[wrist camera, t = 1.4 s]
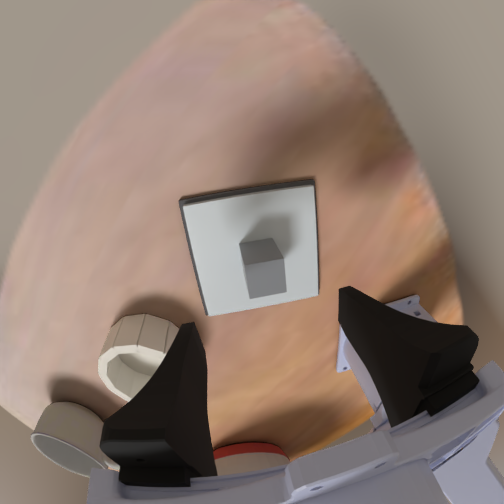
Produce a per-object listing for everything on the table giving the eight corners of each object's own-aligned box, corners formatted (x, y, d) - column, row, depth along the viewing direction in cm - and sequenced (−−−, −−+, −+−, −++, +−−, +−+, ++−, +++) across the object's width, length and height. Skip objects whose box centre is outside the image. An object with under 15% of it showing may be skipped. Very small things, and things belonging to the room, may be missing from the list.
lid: (310, 184, 19) (333, 197, 16) (315, 291, 23) (333, 320, 19) (183, 204, 19) (176, 222, 15) (208, 312, 22) (209, 345, 19)
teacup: (60, 424, 29) (48, 464, 21) (36, 381, 24) (15, 427, 17) (143, 443, 31) (139, 489, 24) (132, 404, 27) (123, 461, 20)
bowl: (178, 308, 22) (173, 340, 19) (200, 372, 26) (201, 403, 22) (96, 319, 22) (82, 348, 18) (128, 378, 25) (122, 407, 22)
